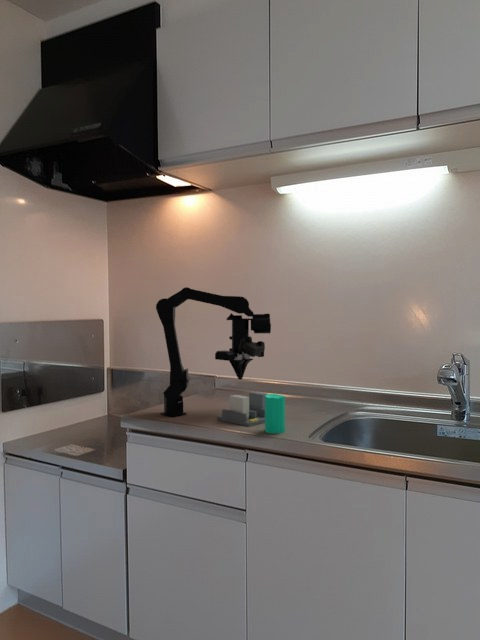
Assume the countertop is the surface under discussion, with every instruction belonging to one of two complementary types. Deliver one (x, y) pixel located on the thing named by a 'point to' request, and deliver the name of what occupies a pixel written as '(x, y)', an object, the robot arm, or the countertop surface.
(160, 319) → the robot arm
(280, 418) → the candle
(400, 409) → the countertop surface
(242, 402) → the block
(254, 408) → the rack
